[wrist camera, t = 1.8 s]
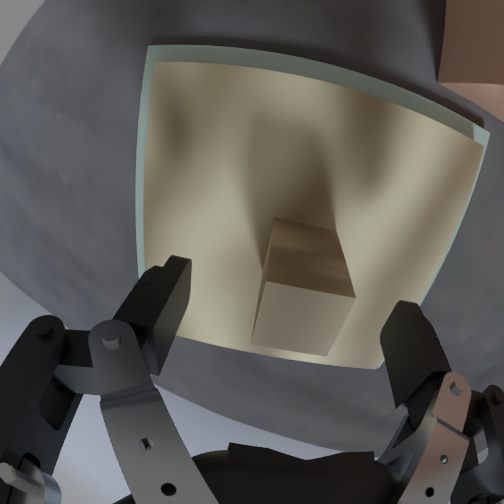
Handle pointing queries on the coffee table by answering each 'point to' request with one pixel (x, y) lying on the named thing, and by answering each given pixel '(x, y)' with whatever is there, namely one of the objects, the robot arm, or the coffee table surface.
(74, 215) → the coffee table surface
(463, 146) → the lid
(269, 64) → the mat
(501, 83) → the pink box
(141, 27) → the coffee table surface
